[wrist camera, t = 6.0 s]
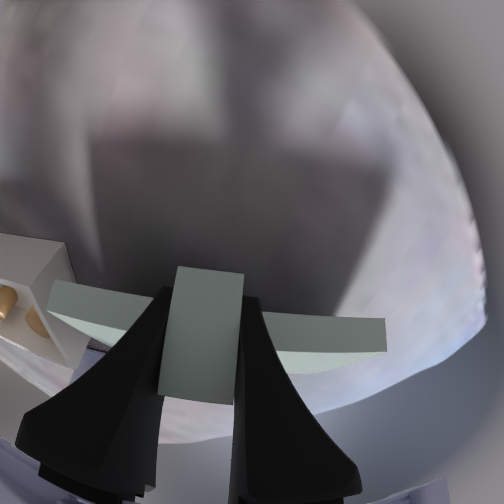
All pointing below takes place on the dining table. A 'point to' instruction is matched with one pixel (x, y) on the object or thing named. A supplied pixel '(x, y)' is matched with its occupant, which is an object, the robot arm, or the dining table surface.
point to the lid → (215, 332)
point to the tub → (36, 299)
